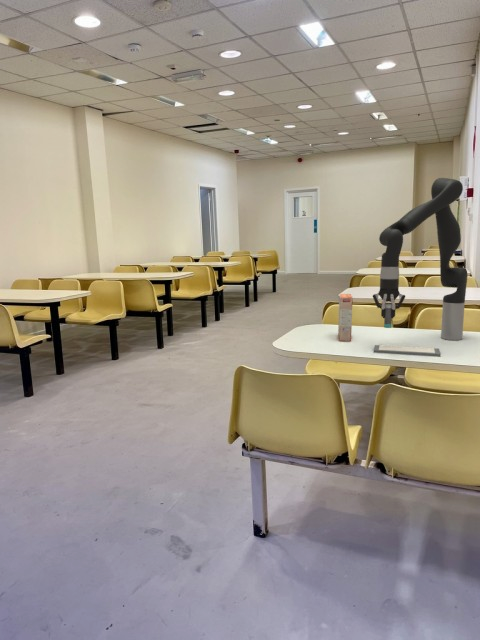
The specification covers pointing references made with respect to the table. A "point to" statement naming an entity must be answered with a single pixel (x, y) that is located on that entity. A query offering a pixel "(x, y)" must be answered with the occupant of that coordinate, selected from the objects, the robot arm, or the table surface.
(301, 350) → the table surface
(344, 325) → the cracker box
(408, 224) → the robot arm
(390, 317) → the marker
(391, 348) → the drawing board
